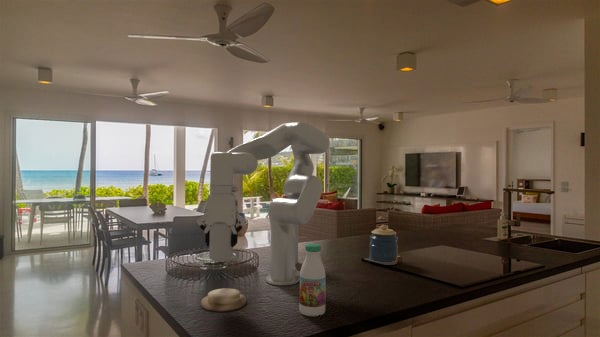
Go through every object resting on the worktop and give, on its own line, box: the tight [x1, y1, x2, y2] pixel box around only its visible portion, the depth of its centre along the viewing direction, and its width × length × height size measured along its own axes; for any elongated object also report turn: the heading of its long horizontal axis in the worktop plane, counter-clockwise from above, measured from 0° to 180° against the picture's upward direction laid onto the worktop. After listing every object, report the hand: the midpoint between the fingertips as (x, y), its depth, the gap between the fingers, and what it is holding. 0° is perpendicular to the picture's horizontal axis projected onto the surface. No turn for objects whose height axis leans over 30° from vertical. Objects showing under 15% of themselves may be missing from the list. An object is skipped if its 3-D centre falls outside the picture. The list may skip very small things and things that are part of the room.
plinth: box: [200, 287, 247, 312], centre depth 117 cm, size 14×14×3 cm
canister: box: [369, 224, 399, 262], centre depth 170 cm, size 13×13×18 cm
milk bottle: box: [298, 243, 327, 317], centre depth 110 cm, size 8×8×20 cm
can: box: [208, 223, 234, 262], centre depth 119 cm, size 8×8×12 cm
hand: (221, 245), depth 119 cm, fingers closed on can, 7 cm apart
